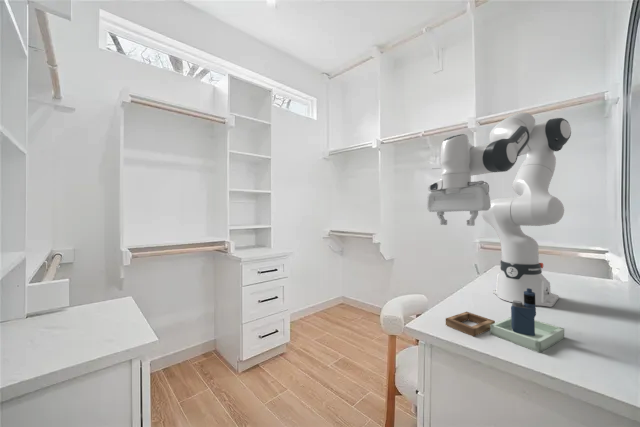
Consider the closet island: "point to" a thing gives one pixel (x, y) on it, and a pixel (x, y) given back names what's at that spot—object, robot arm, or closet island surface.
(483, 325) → the holder
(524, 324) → the vaping device
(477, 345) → the closet island surface
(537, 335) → the tray
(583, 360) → the closet island surface
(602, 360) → the closet island surface
